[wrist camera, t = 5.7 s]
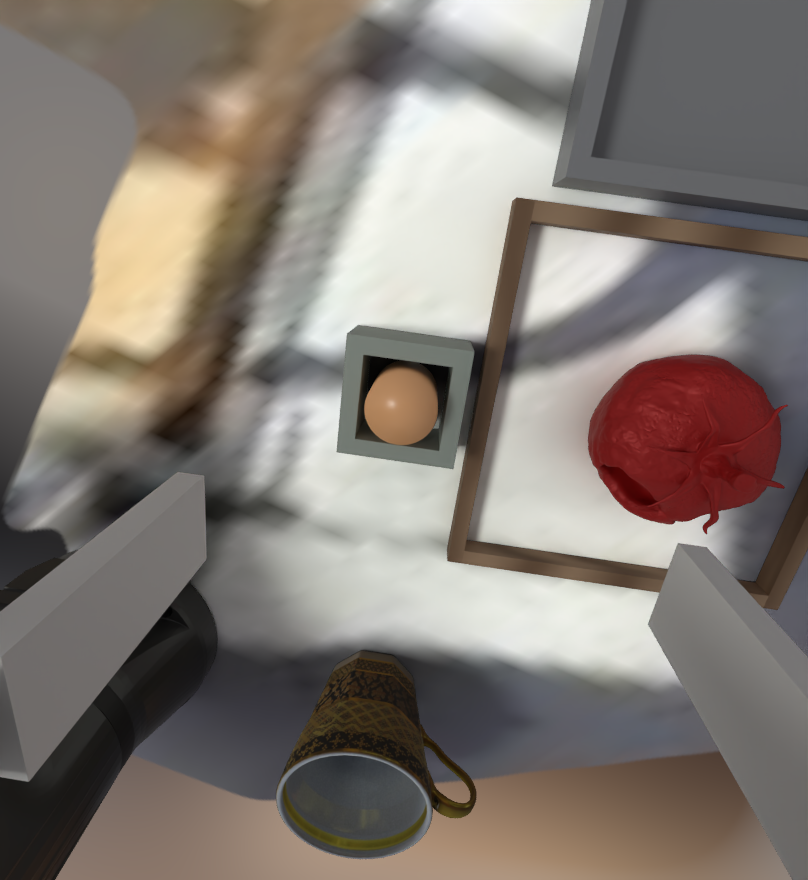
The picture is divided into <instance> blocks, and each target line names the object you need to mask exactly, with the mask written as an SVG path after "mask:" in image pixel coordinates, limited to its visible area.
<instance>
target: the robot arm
mask: <svg viewBox="0 0 808 880" xmlns="http://www.w3.org/2000/svg"><path fill="white" fill-rule="evenodd" d="M206 559H207V548H206V515H205V481H204V476H203V475H196V474H189V473H182V472H177V473H175V474H174V475H173V476H172V477H170V478H169V479H168V480H167V481H165V482H164V483H163V484H162V485H160V486H159V487H158V488H156V489H155V490H154V491H153V492H151V493H150V494H149V495H148V496H146V497H145V498H144V499H142V500H141V501H140V502H139V503H137V504H136V505H135V506H134V507H132V508H131V509H130V510H129V511H127V512H126V513H125V514H123V515H122V516H121V517H120V518H118V519H117V520H116V521H115V522H113V523H112V524H111V525H109V526H108V527H107V528H106V529H104V530H103V531H102V532H101V533H99V534H98V535H97V536H96V537H94V538H93V539H92V540H90V541H89V542H88V543H87V544H85V545H84V546H83V547H82V548H80V549H79V550H76V551H72V552H70V553H68V554H65V555H63V556H62V557H60V558H53V559H51V560H48V561H46V562H44V563H42V564H40V565H37V566H35V567H33V568H31V569H29V570H26V571H25V572H24V573H22V574H21V575H20V576H18V577H17V578H16V579H14V580H13V581H11V582H10V583H9V584H7V585H6V586H5V587H4V590H0V880H55V879H56V877H57V876H58V874H59V872H60V871H61V869H62V867H63V866H64V864H65V862H66V861H67V859H68V857H69V856H70V854H71V852H72V851H73V849H74V847H75V846H76V844H77V842H78V841H79V839H80V837H81V836H82V834H83V833H84V831H85V829H86V827H87V825H88V824H89V823H90V821H91V819H92V817H93V816H94V814H95V813H96V811H97V809H98V808H99V806H100V804H101V803H102V801H103V799H104V798H105V796H106V794H107V793H108V791H109V789H110V788H111V786H112V784H113V783H114V781H115V779H116V778H117V776H118V774H119V772H120V771H121V769H122V768H123V766H124V765H125V763H126V761H127V760H128V758H129V757H130V755H131V754H132V752H133V751H134V749H135V748H136V747H137V746H138V745H139V744H140V743H142V742H143V741H144V740H145V739H146V738H147V737H148V736H149V735H151V734H152V733H153V732H154V731H155V730H156V729H157V728H158V727H159V726H161V725H162V724H163V723H164V722H165V721H166V720H167V719H168V718H169V717H170V716H171V715H172V714H173V713H174V712H176V711H177V710H178V709H179V708H180V707H181V706H182V705H184V704H185V703H186V702H187V701H188V700H189V699H190V698H191V697H192V696H193V695H194V693H195V692H196V691H197V689H198V688H199V686H200V685H201V683H202V681H203V679H204V678H205V676H206V674H207V672H208V671H209V669H210V667H211V665H212V663H213V661H214V658H215V654H216V649H217V633H216V627H215V623H214V620H213V617H212V615H211V613H210V611H209V609H208V607H207V605H206V603H205V602H204V600H203V599H202V597H201V596H200V594H199V593H198V592H197V591H196V590H195V588H194V587H193V586H192V585H191V584H190V583H189V581H190V579H191V578H192V577H193V576H194V574H195V573H196V572H197V571H198V569H199V568H200V567H201V566H202V564H203V563H204V562H205V561H206ZM648 625H649V627H650V629H651V630H652V632H653V634H654V636H655V638H656V639H657V641H658V643H659V645H660V646H661V648H662V650H663V652H664V653H665V655H666V657H667V659H668V661H669V662H670V664H671V666H672V668H673V669H674V671H675V673H676V675H677V676H678V678H679V680H680V682H681V684H682V685H683V687H684V689H685V691H686V692H687V694H688V696H689V698H690V700H691V701H692V703H693V705H694V707H695V708H696V710H697V712H698V714H699V715H700V717H701V719H702V721H703V723H704V724H705V726H706V728H707V730H708V731H709V733H710V735H711V737H712V738H713V740H714V742H715V744H716V746H717V747H718V749H719V751H720V753H721V754H722V756H723V758H724V760H725V762H726V763H727V765H728V767H729V769H730V770H731V772H732V774H733V776H734V777H735V779H736V781H737V783H738V784H739V786H740V788H741V790H742V792H743V793H744V795H745V797H746V799H747V800H748V802H749V804H750V806H751V808H752V809H753V811H754V813H755V815H756V816H757V818H758V820H759V822H760V823H761V825H762V827H763V829H764V830H765V832H766V834H767V836H768V838H769V839H770V841H771V843H772V845H773V847H774V848H775V850H776V852H777V854H778V855H779V857H780V859H781V861H782V862H783V864H784V866H785V867H786V869H787V871H788V873H789V874H790V877H791V878H792V880H808V657H807V656H806V655H805V654H804V652H803V651H802V650H801V649H800V648H799V647H798V646H797V645H796V644H795V643H794V642H793V641H792V639H791V638H790V637H789V636H788V635H787V634H786V633H785V632H784V631H783V630H782V629H781V628H780V626H779V625H778V624H777V623H776V622H775V621H774V620H773V619H772V618H771V617H770V616H769V614H768V613H767V612H766V611H765V610H764V609H763V608H762V607H761V606H760V605H759V604H758V603H757V601H756V600H755V599H754V598H753V597H752V596H751V595H750V594H749V593H748V592H747V591H746V590H745V588H744V587H743V586H742V585H741V584H740V583H739V582H738V581H737V580H736V579H735V578H734V577H733V575H732V574H731V573H730V572H729V571H728V570H727V569H726V568H725V567H724V566H723V565H722V564H721V562H720V561H719V560H718V559H717V558H716V557H715V556H714V555H713V554H712V553H711V552H710V551H709V549H708V548H707V547H701V546H694V545H687V544H680V543H678V545H677V547H676V550H675V553H674V555H673V558H672V561H671V563H670V566H669V569H668V572H667V574H666V577H665V580H664V582H663V585H662V588H661V591H660V593H659V596H658V599H657V601H656V604H655V607H654V609H653V612H652V615H651V618H650V620H649V623H648Z"/></svg>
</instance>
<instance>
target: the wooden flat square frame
mask: <svg viewBox="0 0 808 880" xmlns="http://www.w3.org/2000/svg"><path fill="white" fill-rule="evenodd" d="M531 223H532V224H539V225H546V226H553V227H561V228H568V229H575V230H583V231H590V232H597V233H604V234H612V235H619V236H626V237H634V238H641V239H648V240H655V241H663V242H670V243H677V244H685V245H692V246H699V247H706V248H714V249H721V250H728V251H736V252H743V253H750V254H757V255H765V256H772V257H779V258H787V259H794V260H801V261H808V237H801V236H794V235H787V234H779V233H772V232H765V231H757V230H750V229H743V228H735V227H728V226H721V225H713V224H706V223H699V222H692V221H684V220H677V219H670V218H662V217H655V216H648V215H640V214H633V213H626V212H618V211H611V210H604V209H596V208H589V207H582V206H574V205H567V204H560V203H552V202H545V201H538V200H530V199H523V198H516V199H514V200H513V201H512V206H511V212H510V217H509V222H508V228H507V233H506V238H505V244H504V249H503V254H502V260H501V265H500V270H499V276H498V281H497V286H496V292H495V297H494V302H493V308H492V313H491V318H490V324H489V329H488V334H487V340H486V345H485V350H484V356H483V361H482V366H481V372H480V377H479V382H478V387H477V393H476V398H475V403H474V409H473V414H472V419H471V425H470V430H469V435H468V441H467V446H466V451H465V457H464V462H463V467H462V473H461V478H460V483H459V489H458V494H457V499H456V505H455V510H454V515H453V521H452V526H451V531H450V537H449V542H448V547H447V560H448V561H450V562H457V563H464V564H470V565H477V566H484V567H491V568H497V569H504V570H511V571H518V572H524V573H531V574H538V575H545V576H551V577H558V578H565V579H572V580H578V581H585V582H592V583H599V584H605V585H612V586H619V587H626V588H632V589H639V590H646V591H653V592H659V593H660V591H661V588H662V585H663V582H664V580H665V577H666V574H667V572H668V570H667V569H660V568H654V567H647V566H640V565H633V564H626V563H620V562H613V561H606V560H599V559H592V558H586V557H579V556H572V555H565V554H558V553H552V552H545V551H538V550H531V549H525V548H518V547H511V546H504V545H497V544H491V543H484V542H477V541H470V540H467V535H468V530H469V525H470V520H471V515H472V510H473V505H474V500H475V495H476V490H477V486H478V481H479V476H480V471H481V466H482V461H483V456H484V451H485V446H486V441H487V436H488V431H489V426H490V421H491V416H492V411H493V407H494V402H495V397H496V392H497V387H498V382H499V377H500V372H501V367H502V362H503V357H504V352H505V347H506V342H507V337H508V332H509V327H510V323H511V318H512V313H513V308H514V303H515V298H516V293H517V288H518V283H519V278H520V273H521V268H522V263H523V258H524V253H525V248H526V244H527V239H528V234H529V229H530V224H531ZM807 549H808V469H807V471H806V473H805V475H804V477H803V480H802V482H801V484H800V486H799V488H798V490H797V493H796V495H795V497H794V499H793V501H792V503H791V506H790V508H789V510H788V512H787V514H786V517H785V519H784V521H783V523H782V525H781V527H780V530H779V532H778V534H777V536H776V538H775V540H774V543H773V545H772V547H771V549H770V551H769V554H768V556H767V558H766V560H765V562H764V564H763V567H762V569H761V571H760V573H759V575H758V578H757V580H756V582H749V581H742V580H737V581H738V582H739V583H740V584H741V585H742V586H743V587H744V588H745V590H746V591H747V592H748V593H749V594H750V595H751V596H752V597H753V598H754V599H755V600H756V601H757V603H758V604H759V605H760V606H761V607H762V608H768V609H774V610H778V608H779V606H780V604H781V602H782V600H783V598H784V596H785V594H786V592H787V590H788V588H789V586H790V584H791V582H792V580H793V578H794V576H795V573H796V571H797V569H798V567H799V565H800V563H801V561H802V559H803V557H804V555H805V553H806V551H807Z"/></svg>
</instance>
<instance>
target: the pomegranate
mask: <svg viewBox="0 0 808 880" xmlns="http://www.w3.org/2000/svg"><path fill="white" fill-rule="evenodd" d="M786 406H788V405H784V406H781V407H779V408H777V409H776V410H775V409H774V408H773V407H772V405H771V403H770V402H769V400H768V398H767V395H766V393H765V392H764V390H763V388H762V387H761V386H760V385H758V383H757V382H755V381H754V380H753V379H752V378H750V377H749V376H748V375H746V374H745V373H743V372H742V371H741V370H740V369H738V368H737V367H735V366H734V365H732V364H731V363H730V362H728V361H726V360H724V359H722V358H718V357H714V356H708V355H681V356H670V357H665V358H661V359H654V360H650V361H645V362H641V363H639V364H637V365H636V366H635V367H634V368H632V369H630V370H629V371H627V372H626V373H625V374H624V375H623V376H622V377H621V378H620V379H619V380H618V381H617V382H616V383H615V384H614V385H613V387H612V388H611V389H610V390H609V391H608V392H607V393H606V395H605V396H604V397H603V398H602V400H601V401H600V403H599V405H598V406H597V408H596V409H595V411H594V413H593V415H592V418H591V420H590V426H589V434H588V444H589V445H588V450H589V455H590V457H591V460H592V463H593V465H594V466H595V467H596V468H597V470H598V474H599V476H600V478H601V479H602V481H603V482H604V484H605V485H606V486H607V487H608V489H609V490H610V492H611V494H612V495H613V497H614V498H615V499H616V500H617V501H618V502H619V503H620V504H621V505H622V506H623V507H624V508H625V509H626V510H628V511H629V512H631V513H633V514H635V515H637V516H639V517H641V518H643V519H647V520H650V521H654V522H658V523H664V524H674V523H675V521H681V522H683V521H690V520H692V519H695V518H697V517H699V516H702V515H705V514H710V519H709V520H708V521H707V522H706V523H705V524H704V525H703V530H704V532H705V533H706V534H707V528H708V527H710V526H711V525H713V524H714V523H716V522H717V521H718V519H719V514H718V511H721V510H726V509H731V508H736V507H740V506H742V505H745V504H747V503H752V502H754V501H755V500H756V499H757V498H758V497H759V496H760V495H761V493H762V492H764V491H765V489H766V488H767V486H771V487H777V488H784V486H783V485H782V484H780V483H777V482H775V481H772V480H771V479H772V477H773V475H774V473H775V469H776V463H777V460H778V456H779V453H780V447H781V435H780V431H781V423H780V418H779V416H778V413H779V412H780V411H781V410H782V409H783V408H784V407H786Z"/></svg>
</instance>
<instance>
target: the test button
mask: <svg viewBox="0 0 808 880" xmlns="http://www.w3.org/2000/svg"><path fill="white" fill-rule="evenodd" d="M364 412H365V418H366V421H367V423H368V425H369V427H370V429H371V430H372V431H373V432H374V434H375V435H376V436H378V437H379V438H380V439H382V440H384V441H386V442H388V443H391V444H395V445H408V444H413V443H416V442H418V441H420V440H421V439H423V438H424V437H426V436H427V435H428V434H429V433H430V431H431V430H432V429H433V427H434V425H435V422H436V419H437V414H438V390H437V384H436V381H435V379H434V377H433V375H432V374H431V372H430V371H429V370H428V369H427V368H426V367H424V366H423V365H421V364H419V363H417V362H412V361H405V360H402V361H396V362H393V363H391V364H389V365H388V366H386V367H385V368H384V369H382V371H381V372H380V373H379V374H378V376H377V378H376V380H375V381H374V383H373V385H372V387H371V389H370V391H369V393H368V395H367V397H366V400H365V406H364Z"/></svg>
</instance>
